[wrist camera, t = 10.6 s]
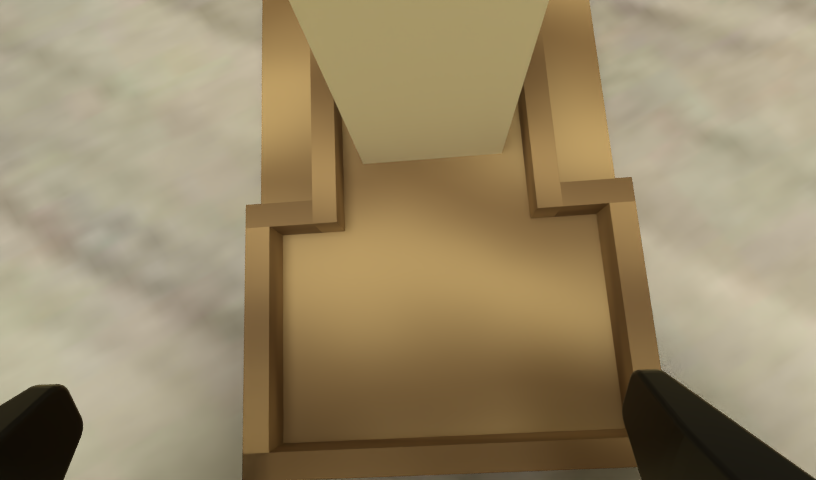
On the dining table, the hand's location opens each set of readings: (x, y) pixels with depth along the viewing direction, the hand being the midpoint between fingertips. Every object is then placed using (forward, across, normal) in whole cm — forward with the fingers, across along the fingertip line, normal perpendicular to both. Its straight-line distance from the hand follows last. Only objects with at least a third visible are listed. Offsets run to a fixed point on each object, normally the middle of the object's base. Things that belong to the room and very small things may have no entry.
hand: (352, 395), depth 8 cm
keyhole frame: (+11, -2, +1) cm, 11 cm away
